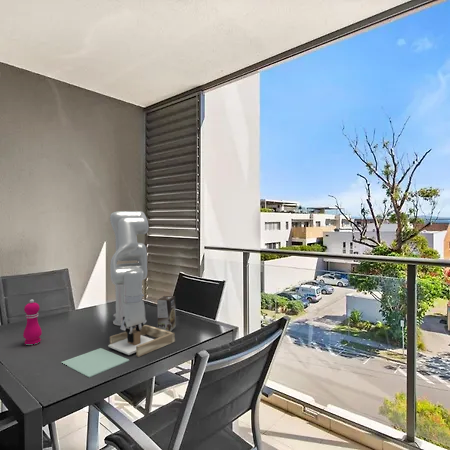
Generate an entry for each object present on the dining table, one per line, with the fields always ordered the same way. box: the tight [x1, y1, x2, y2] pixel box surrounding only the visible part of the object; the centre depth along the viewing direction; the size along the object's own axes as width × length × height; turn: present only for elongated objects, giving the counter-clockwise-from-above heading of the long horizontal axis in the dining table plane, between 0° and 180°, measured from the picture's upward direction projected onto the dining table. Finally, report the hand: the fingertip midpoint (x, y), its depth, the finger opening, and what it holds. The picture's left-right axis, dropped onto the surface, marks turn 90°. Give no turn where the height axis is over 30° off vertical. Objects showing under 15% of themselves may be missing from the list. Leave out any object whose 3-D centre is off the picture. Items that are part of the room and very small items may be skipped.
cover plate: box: [107, 330, 155, 356], centre depth 145 cm, size 14×16×6 cm
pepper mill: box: [22, 299, 43, 345], centre depth 151 cm, size 7×7×20 cm
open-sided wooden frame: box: [109, 324, 176, 358], centre depth 149 cm, size 20×20×4 cm
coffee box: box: [156, 295, 176, 332], centre depth 167 cm, size 9×6×16 cm
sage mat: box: [60, 347, 130, 378], centre depth 131 cm, size 20×17×1 cm
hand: (134, 340), depth 145 cm, fingers closed on cover plate, 3 cm apart
